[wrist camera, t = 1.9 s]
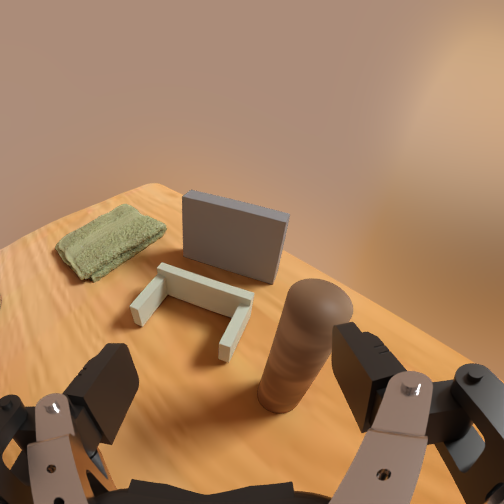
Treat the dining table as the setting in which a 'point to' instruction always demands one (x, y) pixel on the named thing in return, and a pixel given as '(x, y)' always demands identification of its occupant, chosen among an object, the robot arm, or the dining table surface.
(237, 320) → the bracket
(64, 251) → the washcloth
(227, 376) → the dining table surface
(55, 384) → the dining table surface
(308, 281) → the dowel
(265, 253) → the wall
